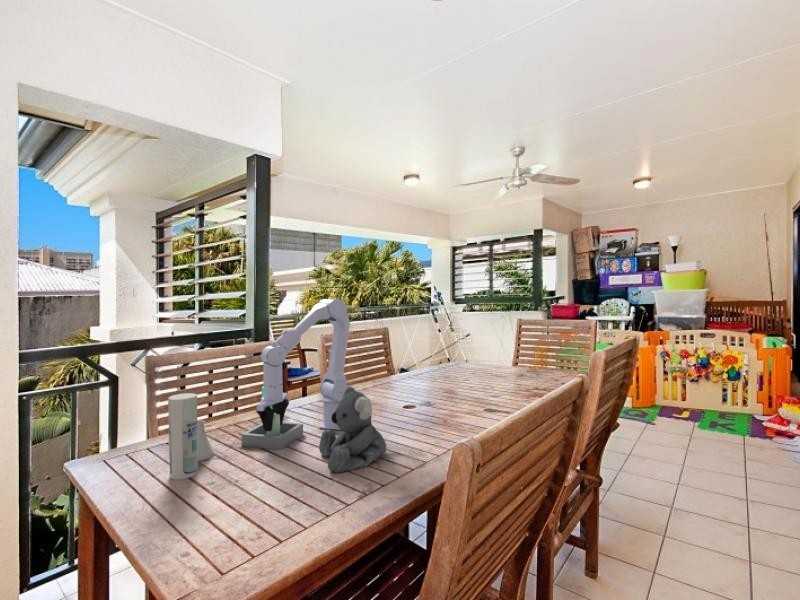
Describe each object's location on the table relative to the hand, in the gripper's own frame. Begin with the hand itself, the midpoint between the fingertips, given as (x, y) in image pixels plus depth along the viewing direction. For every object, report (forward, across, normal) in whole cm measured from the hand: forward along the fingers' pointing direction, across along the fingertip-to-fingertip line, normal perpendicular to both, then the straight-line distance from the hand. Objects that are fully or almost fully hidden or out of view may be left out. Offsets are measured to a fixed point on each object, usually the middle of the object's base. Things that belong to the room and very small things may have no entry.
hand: (273, 427), depth 127 cm
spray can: (+4, +27, -9) cm, 29 cm away
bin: (+4, 0, 0) cm, 4 cm away
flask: (+4, +17, -13) cm, 22 cm away
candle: (+4, -25, -17) cm, 31 cm away
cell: (+3, 0, 0) cm, 3 cm away
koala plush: (+4, +7, +30) cm, 31 cm away
